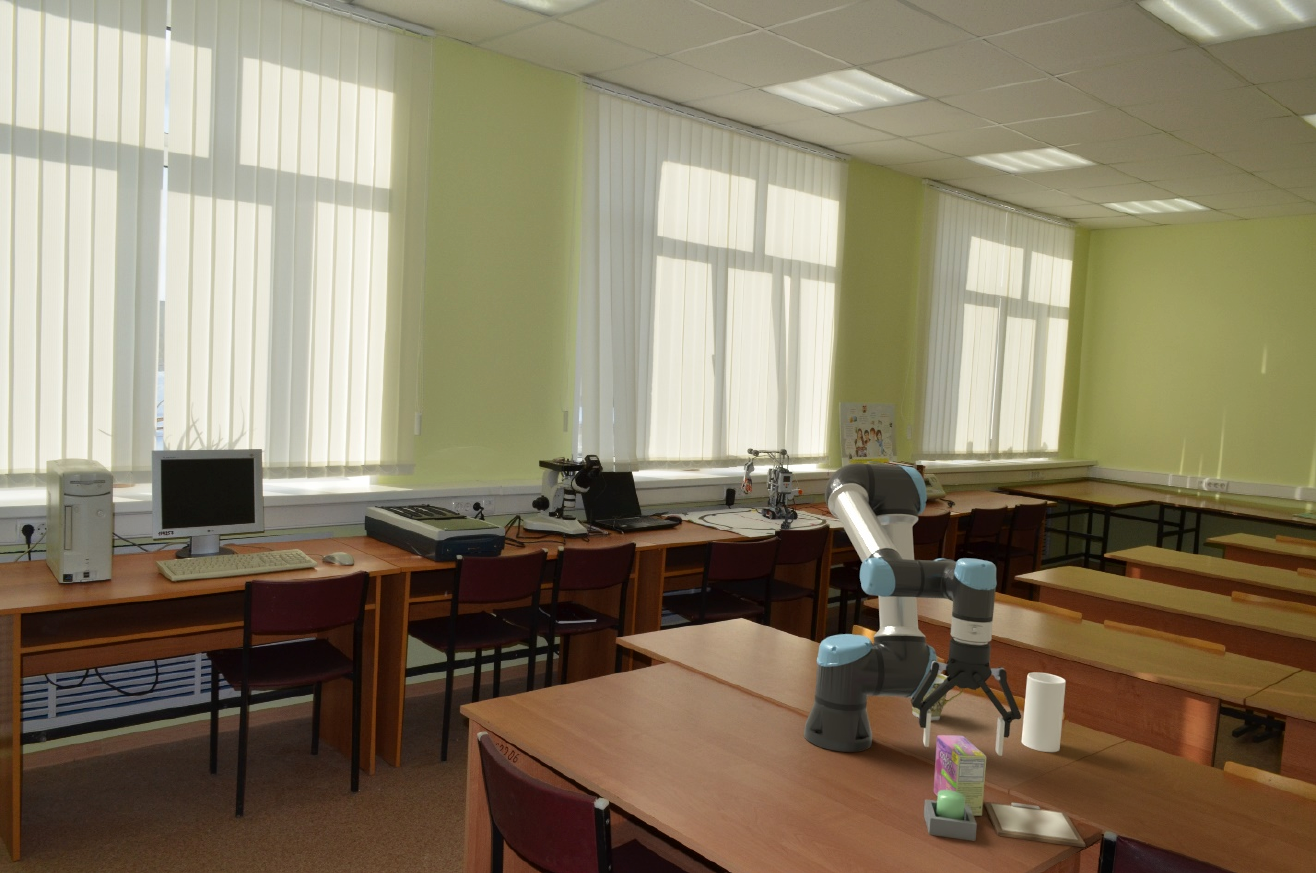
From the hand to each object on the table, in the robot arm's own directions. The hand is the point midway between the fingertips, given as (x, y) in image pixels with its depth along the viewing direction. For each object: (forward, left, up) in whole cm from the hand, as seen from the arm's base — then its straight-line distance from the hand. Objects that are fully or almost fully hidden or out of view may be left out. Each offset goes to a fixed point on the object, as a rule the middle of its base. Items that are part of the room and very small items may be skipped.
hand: (962, 748), depth 178 cm
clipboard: (+13, -5, -11) cm, 18 cm away
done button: (-3, -11, -10) cm, 15 cm away
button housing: (-3, -11, -11) cm, 16 cm away
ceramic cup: (+2, +51, -11) cm, 53 cm away
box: (0, 0, -11) cm, 11 cm away
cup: (+25, +40, -11) cm, 49 cm away
